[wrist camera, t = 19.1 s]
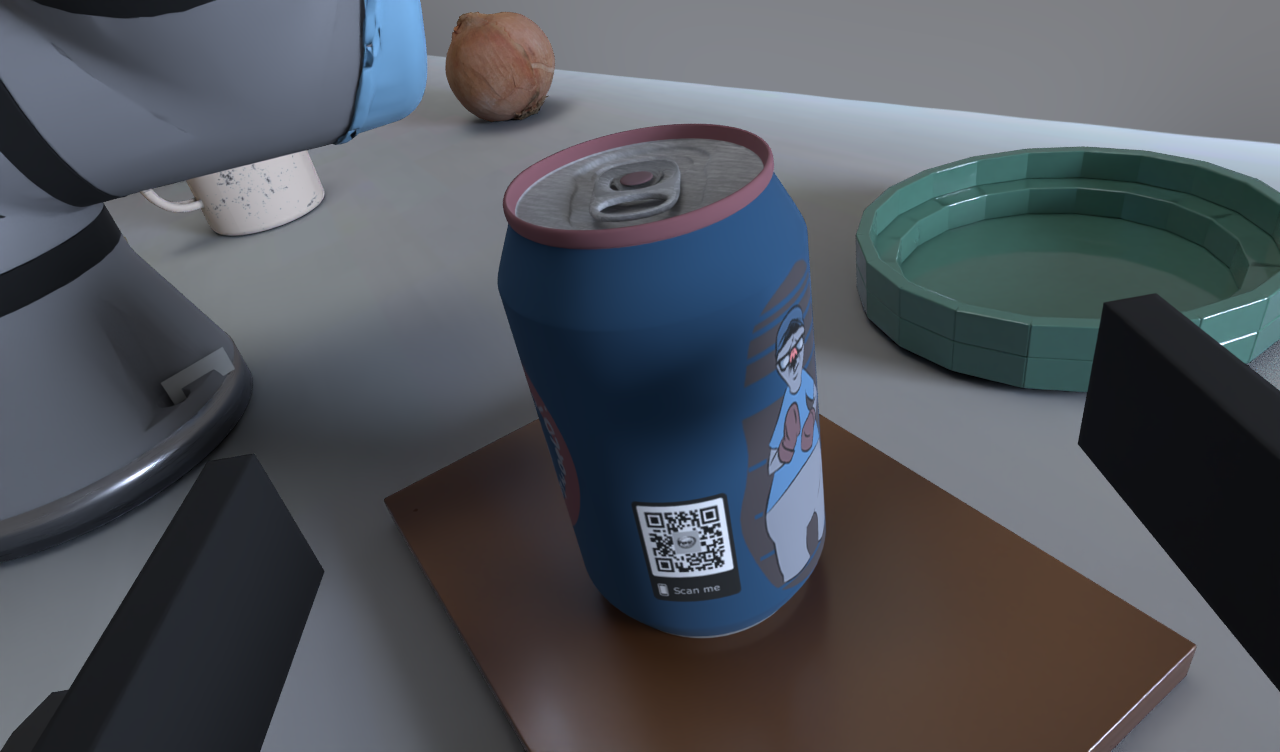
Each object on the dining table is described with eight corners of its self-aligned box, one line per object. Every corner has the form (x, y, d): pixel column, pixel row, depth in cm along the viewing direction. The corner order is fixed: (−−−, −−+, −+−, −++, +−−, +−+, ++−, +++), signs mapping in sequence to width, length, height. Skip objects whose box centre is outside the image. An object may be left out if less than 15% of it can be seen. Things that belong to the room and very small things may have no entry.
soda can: (603, 487, 27) (508, 140, 20) (812, 468, 26) (785, 95, 19) (578, 668, 21) (434, 269, 14) (845, 653, 20) (825, 214, 13)
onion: (483, 154, 73) (409, 60, 70) (555, 96, 76) (488, 2, 72) (513, 135, 65) (431, 27, 61) (594, 70, 67) (519, -38, 64)
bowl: (784, 297, 37) (780, 239, 35) (1009, 180, 43) (1014, 126, 41) (1130, 463, 25) (1148, 388, 23) (1375, 268, 31) (1403, 197, 29)
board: (394, 522, 29) (382, 498, 28) (698, 360, 34) (694, 336, 33) (740, 1123, 14) (733, 1104, 13) (1187, 675, 19) (1197, 644, 19)
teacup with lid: (299, 182, 66) (234, 35, 60) (350, 198, 60) (284, 38, 54) (155, 242, 60) (65, 86, 53) (196, 267, 54) (101, 95, 47)
